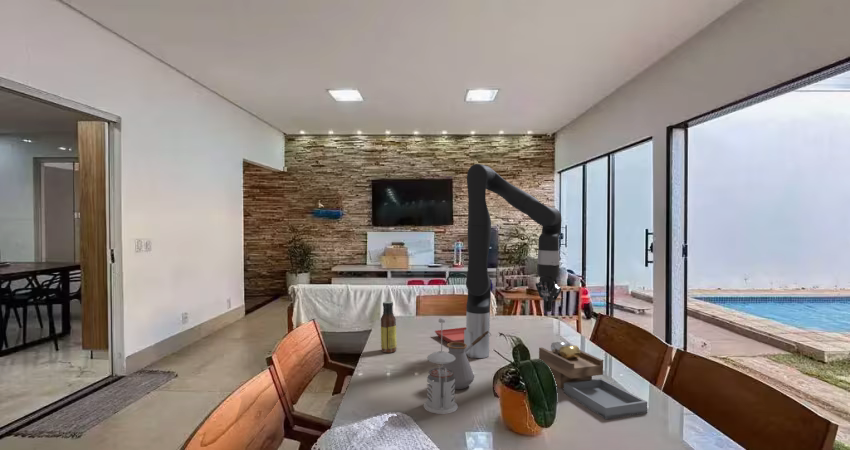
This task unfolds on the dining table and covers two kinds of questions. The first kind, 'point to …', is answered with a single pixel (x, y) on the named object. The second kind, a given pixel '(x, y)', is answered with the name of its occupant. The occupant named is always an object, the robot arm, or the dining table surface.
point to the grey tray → (605, 398)
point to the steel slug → (558, 346)
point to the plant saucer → (452, 335)
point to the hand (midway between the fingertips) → (547, 311)
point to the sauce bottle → (388, 328)
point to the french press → (441, 383)
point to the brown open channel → (571, 367)
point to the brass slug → (570, 352)
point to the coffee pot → (461, 363)
